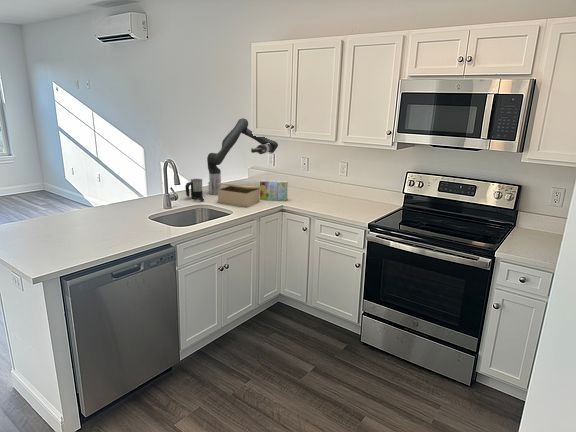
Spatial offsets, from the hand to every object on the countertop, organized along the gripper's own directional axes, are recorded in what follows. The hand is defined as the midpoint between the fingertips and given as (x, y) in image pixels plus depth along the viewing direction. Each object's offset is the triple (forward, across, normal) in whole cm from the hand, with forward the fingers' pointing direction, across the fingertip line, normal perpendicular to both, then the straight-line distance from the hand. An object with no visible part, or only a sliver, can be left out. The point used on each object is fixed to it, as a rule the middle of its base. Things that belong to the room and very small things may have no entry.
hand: (252, 151), depth 307 cm
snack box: (+2, +21, +36) cm, 42 cm away
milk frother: (+32, -29, +36) cm, 57 cm away
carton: (+23, +2, +36) cm, 43 cm away
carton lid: (+23, +2, +24) cm, 33 cm away
